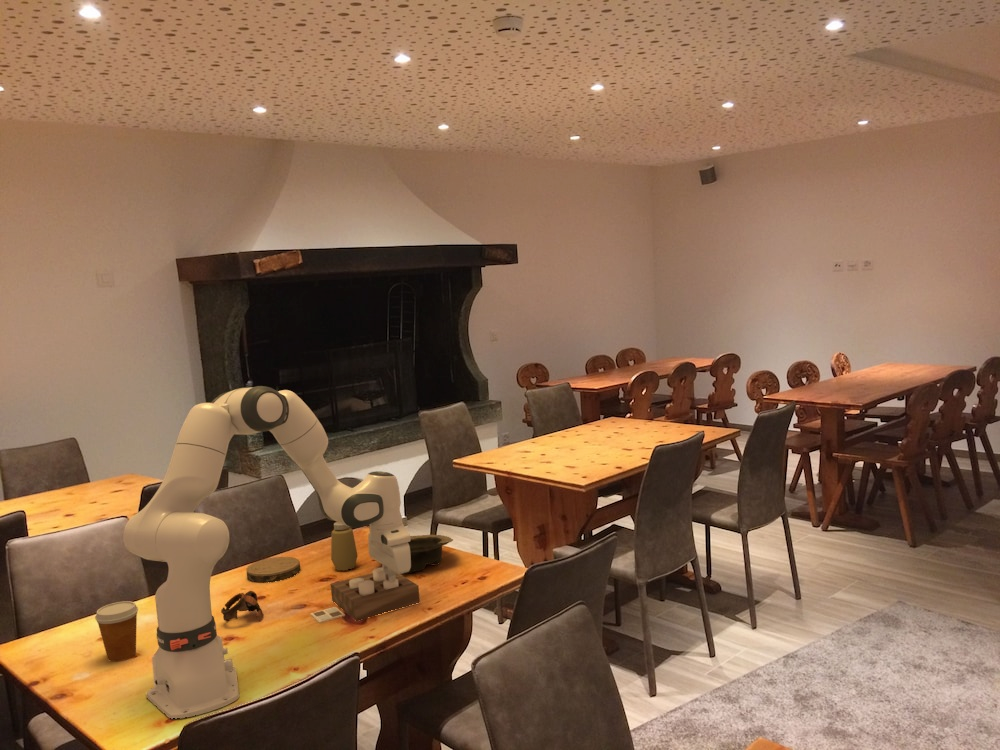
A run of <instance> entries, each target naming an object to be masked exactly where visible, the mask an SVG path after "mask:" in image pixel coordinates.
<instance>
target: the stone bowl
mask: <svg viewBox="0 0 1000 750" xmlns="http://www.w3.org/2000/svg"><path fill="white" fill-rule="evenodd" d="M410 538H411V541H410V542H408V544H409V546H410V555H411V568H410V571H409V572H406V573H407V574H411V573H413V572H420V571H423V570H425V569H426V565H431V564H437V565H439V564H441V560H442V554H443V546H446V545H448V544H449V543H451V542H453V541H454V539H452V538H451V537H450V536H448V535H443V534H422V535H410ZM438 563H439V564H438Z"/></svg>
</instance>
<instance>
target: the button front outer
mask: <svg viewBox="0 0 1000 750" xmlns="http://www.w3.org/2000/svg"><path fill="white" fill-rule="evenodd" d="M383 585H384V589H386V590H387V589H391V588H395V587H398V586H399V584H398V579H396V581H395V582H392V583H390V582H389V581H387V580H384V581H383Z"/></svg>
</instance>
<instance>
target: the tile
mask: <svg viewBox="0 0 1000 750" xmlns="http://www.w3.org/2000/svg"><path fill="white" fill-rule="evenodd" d="M310 616H311V618H313V619H314V620H315V621H316V622H318V624H321V623H324V622H325V623H326V622H328V621H331V620H336V619H338V618H339V617H340V618H342V616H343V617H346V614H345V612H344V611H341V610H340V609H339V608H338V606H337V607H336V606H333V607H329V608H326V609H323V610H318V611H314V612H311V613H310ZM340 618H339V619H340Z"/></svg>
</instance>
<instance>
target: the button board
mask: <svg viewBox="0 0 1000 750" xmlns="http://www.w3.org/2000/svg"><path fill="white" fill-rule="evenodd" d="M395 576H396V579H398V584H399V586H398V587H395V588H391V589H387V590H386V589H384V585H383V581H380V582H377V583H376V582H374V580H373V572H371V573H367V574H364V575H359V576H356V577H351V578H348V579H344V580H340V581H334V582H331V583H330V595H331V602H332V601H333V602H332V603H334V602H335V603H336V604H337V605H338V606H339V608H340V609H341V608H342V609H343V610H344V611H343V610H342V609H341V610H342V611H343V612H344V613H346V614H347V615H348V614H349V615H350V616H349V615H348V616H349V617H350V618H352V619H353V620H354V621H355V620H356V621H355V622H359V620H360V621H362V620H361V619H363V620H367V619H369V618H368V617H370V618H373V617H372V616H374V617H376V616H375V615H378V614H381V615H383V614H382V613H384V612H388V611H391V610H395V609H399V608H402V607H406V606H409V605H412V604H416V603H419V602H420V603H421V601H420V591H419V590H420V589H419V585H418V584H417V583H415V582H414V581H412V580H410V579H409V578H407V577H405V576H404V575H403V574H397V573H396V575H395ZM354 578H363V579H364V581H365V580H371V581H373V582H374V592H375V593H372V594H368V595H365V596H360V595H359V587H357V588H354V589H351V588H350V586H349V581H350V580H351V579H354ZM335 603H334V604H335ZM336 604H335V605H336ZM337 605H336V606H337ZM416 605H417V604H416ZM338 606H337V607H338ZM409 607H410V606H409ZM406 608H407V607H406ZM402 609H403V608H402ZM399 610H400V609H399ZM395 611H396V610H395ZM388 613H389V612H388ZM378 616H379V615H378ZM366 618H367V619H366Z"/></svg>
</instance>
